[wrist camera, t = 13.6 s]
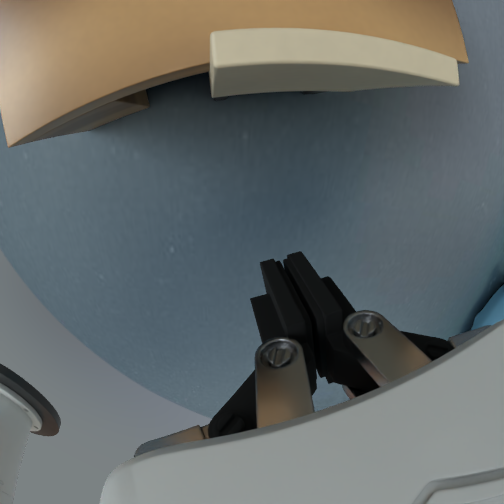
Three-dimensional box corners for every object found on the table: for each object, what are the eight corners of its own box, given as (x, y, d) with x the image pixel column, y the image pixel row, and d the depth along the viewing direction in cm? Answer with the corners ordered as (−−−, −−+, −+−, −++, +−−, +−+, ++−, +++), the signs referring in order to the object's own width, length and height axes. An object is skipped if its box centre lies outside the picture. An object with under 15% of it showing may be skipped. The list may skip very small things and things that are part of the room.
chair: (316, 96, 14) (460, 86, 5) (211, 104, 14) (213, 68, 4) (302, -5, 11) (404, -97, 2) (200, -3, 11) (196, -130, 1)
